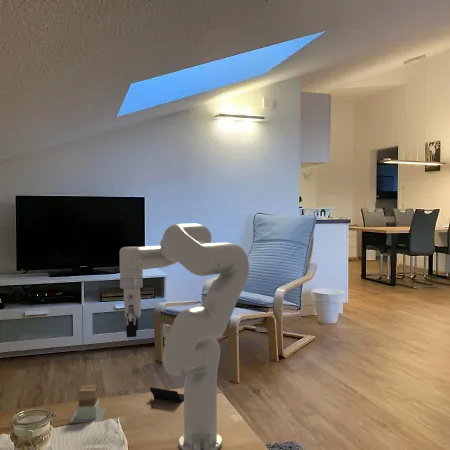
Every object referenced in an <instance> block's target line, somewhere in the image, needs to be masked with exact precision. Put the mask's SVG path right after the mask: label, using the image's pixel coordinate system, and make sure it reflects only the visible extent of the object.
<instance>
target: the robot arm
mask: <svg viewBox="0 0 450 450" xmlns="http://www.w3.org/2000/svg"><path fill="white" fill-rule="evenodd" d="M248 259H249V258H248V255H247V253H246V252H245V250H244V248H242V247H241V246H240V245H239V244H237V243H233V242H213V243H212V234H211V231H210V230H209V228H208V227H206V226H205V225H203V224H200V223H176V224H175V223H174V224H172V225H170V226H168V227H167V228H166V229H165V231H164V233H163V236H162V238H161V240H160V243H159V245H147V246H124V247H123V246H122V247H121V248H120V250H119V288H120V289H123V303H124V304H123V305H124V317H125V318H126V325H125V327H126V328H125V331H126V333H125V334H126V338H135V337H137V331H138V330H139V318H140V317H141V315H142V310H141V309H142V305H141V301H142V300H141V288H143V287H144V285H143V284H144V283H143V282H144V281H143V280H144V278H143V275H144V273H143V270H149V269H150V270H151V269H152V270H153V269H161V268H165V267H169V266H171V265H174V264H177V263H179V264H180V265H182V266H183V268H185V269H186V270H187V271H188V272H189V273H191V274H193V275H195V276H199V277H205V276H206V277H207V276H213V275H218V277H217V278H216V279H215V280H214V281H213V283H212V284H211V285H210V287H209V289H208V290H207V293H206V296H205V298H204V301H203V302H202V304H201V305H199V306H195V307H190V308H186V309H183V310H182V311H180V312H179V313H178V314H177V316H176V317H175V319H174V320H173V323H172V326H171V329H170V331H169V334H168V336H167V339H166V341H165V345H164V348H163V351H162V364H163V367H164V369H165V371H166V372H167V373H168V374H169V375H170V376H173V377H182V376H185V378H184V384H183V394H184V401H183V434H182V435H181V436H180V437H179V438H178V446H179V448H180V449H181V450H218V449H220V448H221V447H222V446H223V437H222V436H221V435H220V434H219V433H217V432H218V427H217V426H218V412H217V411H218V403H217V402H218V400H217V399H218V396H217V392H218V372H219V371H218V370H219V364H220V359H221V346H220V343H219V342H218V340H217V338H219V337H221V336H222V335H223V334H224V333H225V331H226V330H227V327H228V325H229V322H230V320H231V317H232V314H233V313H234V311H235V307H236V304H237V302H238V300H239V299H240V298H239V297H240V296H241V293H242V292H243V290H244V288H245V286H246V283H247V281H248V278H249V271H250V264H249V260H248Z"/></svg>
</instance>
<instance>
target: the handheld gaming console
mask: <svg viewBox="0 0 450 450" xmlns="http://www.w3.org/2000/svg"><path fill="white" fill-rule="evenodd" d="M149 390H150V392H151V394H152V396H153V400H154V399H155V400H158V401H159V400H160V401H165V402H171V403H178V404H182V403H184V393H179V392H178V391H177V390H171V389H170V390H169V389H164V388H163V389H162V388H157V387H152V386H151V387H149Z"/></svg>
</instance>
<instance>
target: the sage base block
mask: <svg viewBox="0 0 450 450" xmlns="http://www.w3.org/2000/svg"><path fill="white" fill-rule="evenodd" d="M99 409H100V399H99V398H98V400H97V402H96V404H95V406H81V407H79V403H78V405H77V406H76V410H77V420H82V419H96V418H97V415H98V413H99Z"/></svg>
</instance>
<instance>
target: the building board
mask: <svg viewBox="0 0 450 450" xmlns="http://www.w3.org/2000/svg"><path fill="white" fill-rule="evenodd" d="M106 410H107V408H99V413H98V415H97V418H96V419H82V420H77V409H75V411H74V413H73V415H72V416H71V419H70V420H69V422H68V423H69V424H75V423H92V422H91V421H101V422H102V420H103V418H104V416H105V412H106Z"/></svg>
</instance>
